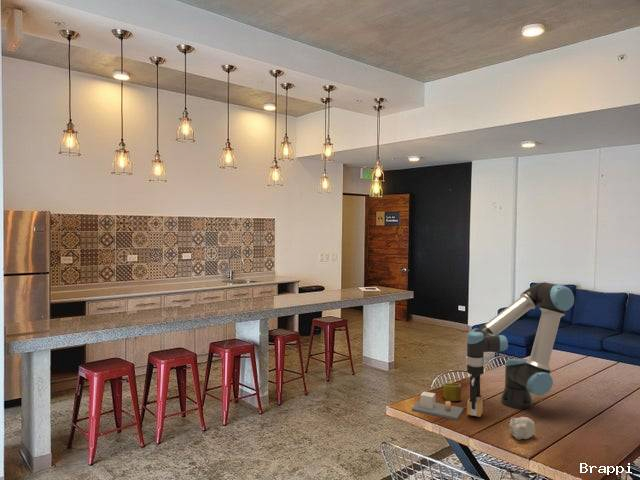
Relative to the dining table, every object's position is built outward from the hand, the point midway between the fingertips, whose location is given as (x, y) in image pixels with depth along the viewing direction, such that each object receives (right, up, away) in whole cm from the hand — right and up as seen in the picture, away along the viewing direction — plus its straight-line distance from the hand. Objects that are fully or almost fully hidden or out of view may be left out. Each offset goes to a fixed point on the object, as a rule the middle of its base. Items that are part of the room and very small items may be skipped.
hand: (475, 412), depth 229 cm
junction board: (-16, -1, +7) cm, 18 cm away
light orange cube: (0, 0, 0) cm, 0 cm away
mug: (-5, -1, +25) cm, 25 cm away
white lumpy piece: (+13, -3, -20) cm, 24 cm away
